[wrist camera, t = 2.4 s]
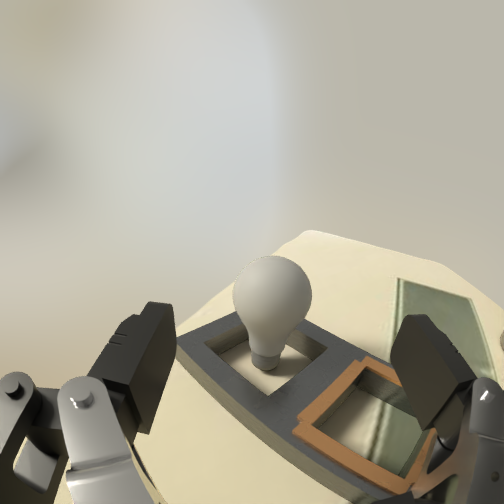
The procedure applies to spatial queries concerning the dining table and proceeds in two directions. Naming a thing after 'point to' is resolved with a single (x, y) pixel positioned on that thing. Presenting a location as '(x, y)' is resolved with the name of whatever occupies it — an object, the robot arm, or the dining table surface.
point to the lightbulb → (271, 305)
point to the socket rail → (306, 404)
